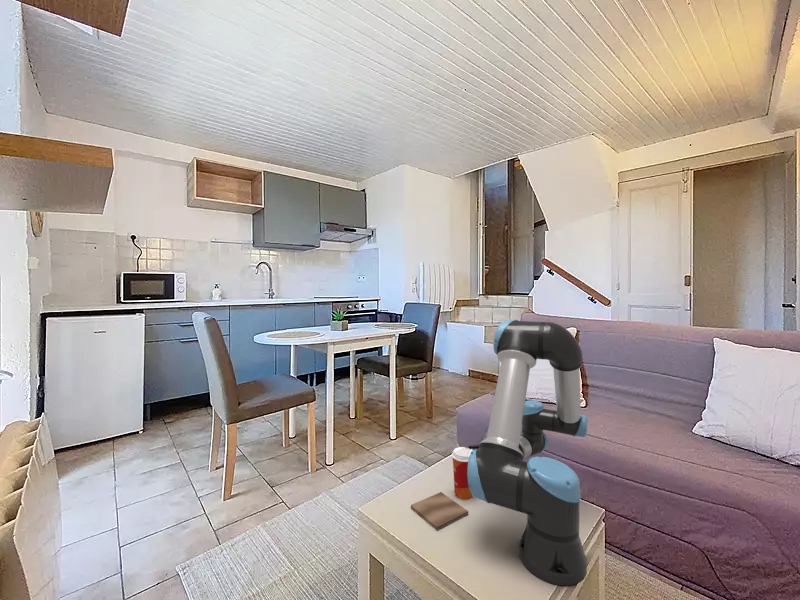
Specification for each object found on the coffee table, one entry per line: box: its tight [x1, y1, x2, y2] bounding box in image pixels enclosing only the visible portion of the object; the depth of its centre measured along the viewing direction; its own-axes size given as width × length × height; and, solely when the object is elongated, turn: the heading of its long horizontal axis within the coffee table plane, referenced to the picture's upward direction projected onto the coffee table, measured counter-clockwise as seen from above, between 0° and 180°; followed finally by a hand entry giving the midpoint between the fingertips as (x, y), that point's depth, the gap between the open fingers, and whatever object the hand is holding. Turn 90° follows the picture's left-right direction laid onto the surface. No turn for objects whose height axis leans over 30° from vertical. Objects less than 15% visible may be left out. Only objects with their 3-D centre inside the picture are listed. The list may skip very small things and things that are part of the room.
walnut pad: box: [410, 491, 469, 531], centre depth 106 cm, size 12×12×1 cm
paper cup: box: [451, 446, 473, 501], centre depth 115 cm, size 8×8×14 cm
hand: (474, 466), depth 118 cm, fingers open, 13 cm apart
